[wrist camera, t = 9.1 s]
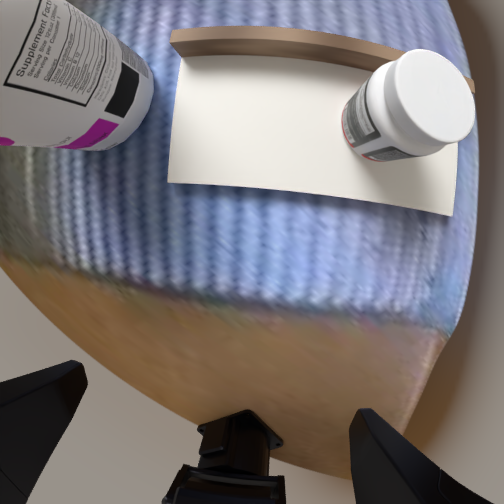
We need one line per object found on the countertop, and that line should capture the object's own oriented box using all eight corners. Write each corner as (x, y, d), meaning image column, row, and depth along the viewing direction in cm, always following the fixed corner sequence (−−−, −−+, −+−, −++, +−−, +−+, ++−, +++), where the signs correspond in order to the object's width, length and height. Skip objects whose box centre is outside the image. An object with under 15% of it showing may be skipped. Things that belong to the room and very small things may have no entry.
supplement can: (111, 172, 19) (-71, 186, 4) (59, 118, 18) (-83, 102, 3) (179, 86, 17) (34, -27, 2) (116, 42, 16) (-7, -35, 2)
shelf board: (447, 91, 15) (473, 80, 11) (443, 214, 17) (471, 221, 14) (188, 52, 16) (172, 30, 13) (173, 182, 19) (151, 183, 15)
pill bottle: (417, 126, 15) (495, 102, 7) (382, 177, 16) (456, 178, 8) (363, 79, 15) (417, 22, 7) (325, 129, 16) (364, 88, 8)
